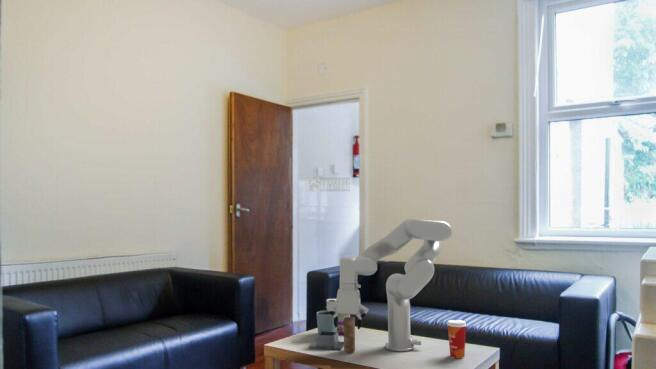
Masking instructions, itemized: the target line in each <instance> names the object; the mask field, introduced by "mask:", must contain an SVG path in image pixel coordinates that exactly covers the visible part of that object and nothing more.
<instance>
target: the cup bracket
mask: <svg viewBox="0 0 656 369" xmlns="http://www.w3.org/2000/svg"><path fill="white" fill-rule="evenodd" d="M308 349H310V350H326V351H327V350H328V351H342V350H343V349H344V341H339V335H338V332H331V331H320V332H319V333H318V332H317V334H316V336H315V340H314V341H313V342H311V343H310V344H309V346H308Z"/></svg>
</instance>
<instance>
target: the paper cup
mask: <svg viewBox="0 0 656 369" xmlns="http://www.w3.org/2000/svg"><path fill="white" fill-rule="evenodd" d="M466 323H467V322H466V321H465V320H461V319H450V320H448V321H447V323H446V326H447V330H448V334H447V335H448V345H449V346H448V347H449V356H450V358H452V357H454V358H453V359H458V358H460V359H463V358H462V357H464V358H465V355H466V354H465V353H466V352H465V351H466V331H467V330H466V329H467V328H466V327H467V324H466Z"/></svg>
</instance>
